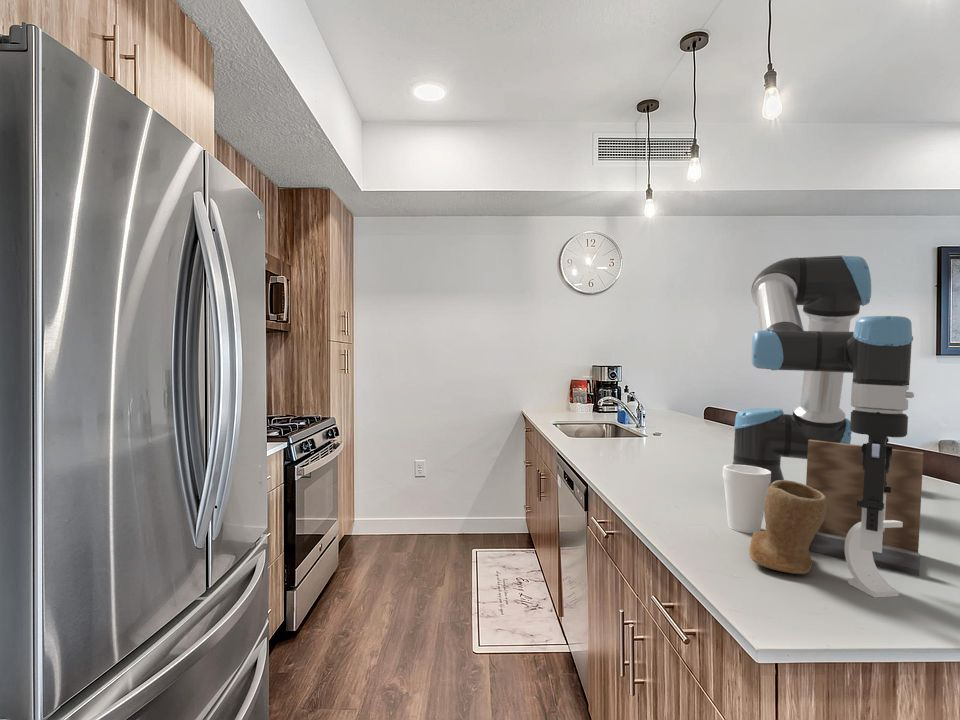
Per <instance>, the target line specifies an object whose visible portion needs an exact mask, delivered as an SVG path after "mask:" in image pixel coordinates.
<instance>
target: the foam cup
mask: <svg viewBox="0 0 960 720" xmlns="http://www.w3.org/2000/svg"><path fill="white" fill-rule="evenodd" d="M722 479H723V487H724V496H725V497H724V498H725V505H726V508H725V509H726V518H727V524H728V525H727V526H728V528H730V529H732V530H733V531H736V532H739V533H745V534H754V533H755V532H758V531H761V528H762V524H763V519H764V507H765V501H766V495H767V491H768V488H769V485H770V483H771V471H769V470H767V469H763V468H760V467H754V466H748V465H732V464H724V465H723V466H722Z"/></svg>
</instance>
